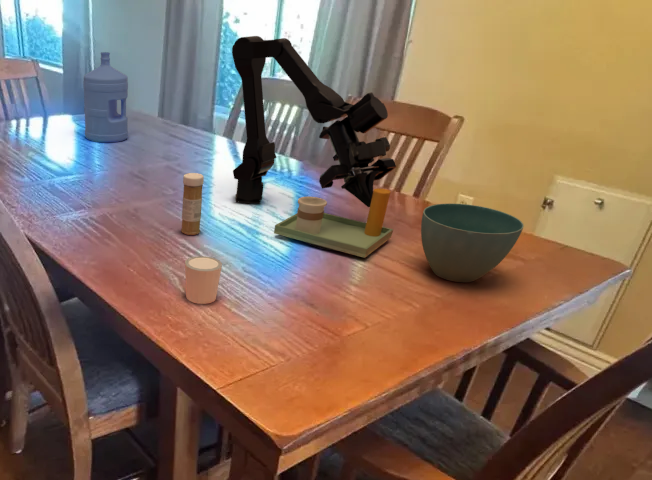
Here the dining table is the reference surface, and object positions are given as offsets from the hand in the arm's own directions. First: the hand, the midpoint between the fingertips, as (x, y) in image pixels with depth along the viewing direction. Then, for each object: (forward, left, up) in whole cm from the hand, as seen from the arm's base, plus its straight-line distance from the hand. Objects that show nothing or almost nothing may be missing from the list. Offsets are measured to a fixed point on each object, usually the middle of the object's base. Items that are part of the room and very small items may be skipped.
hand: (370, 206), depth 140 cm
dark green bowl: (+15, -18, -8) cm, 25 cm away
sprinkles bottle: (-41, -3, -8) cm, 42 cm away
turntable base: (-8, -2, -8) cm, 11 cm away
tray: (-8, -2, -8) cm, 11 cm away
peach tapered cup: (-37, -37, -8) cm, 53 cm away
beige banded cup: (-14, -2, -6) cm, 15 cm away
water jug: (-77, +88, -8) cm, 117 cm away
